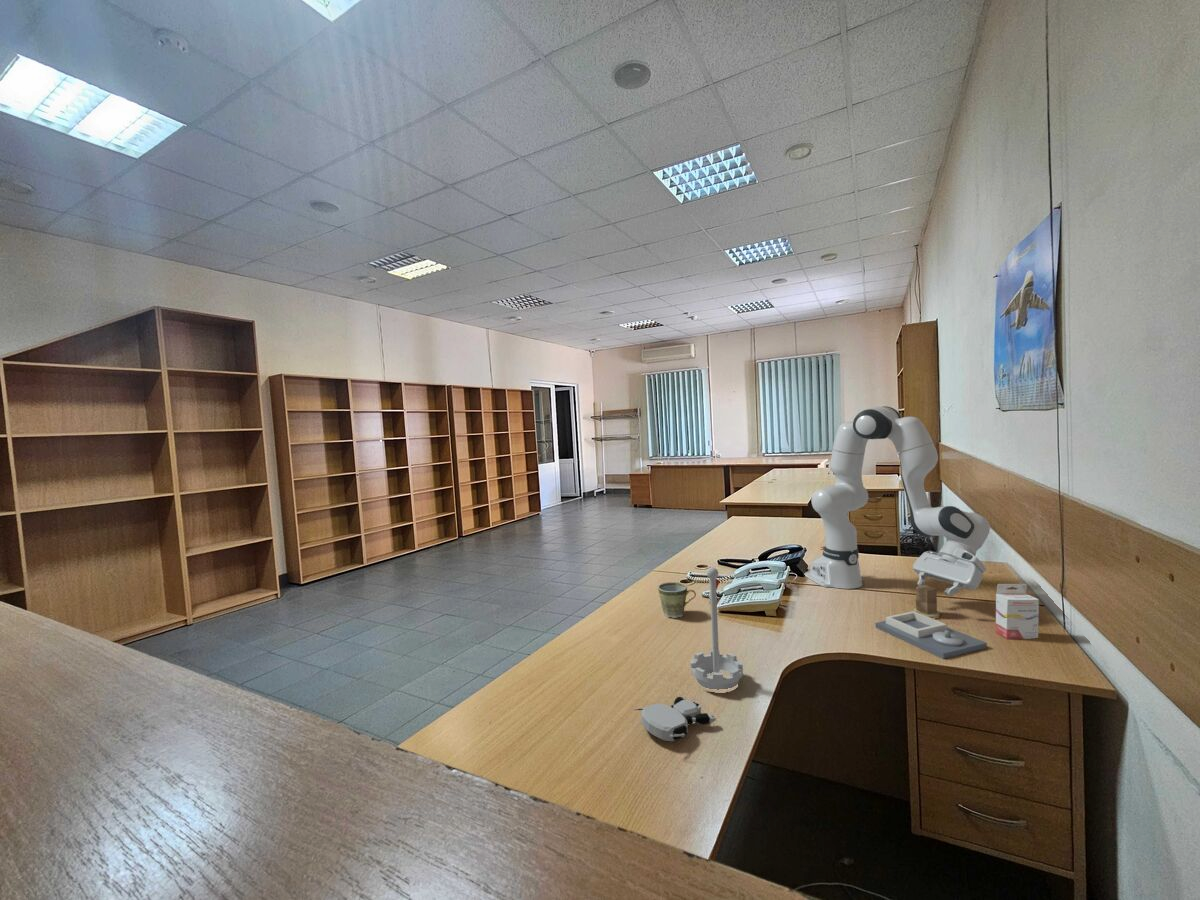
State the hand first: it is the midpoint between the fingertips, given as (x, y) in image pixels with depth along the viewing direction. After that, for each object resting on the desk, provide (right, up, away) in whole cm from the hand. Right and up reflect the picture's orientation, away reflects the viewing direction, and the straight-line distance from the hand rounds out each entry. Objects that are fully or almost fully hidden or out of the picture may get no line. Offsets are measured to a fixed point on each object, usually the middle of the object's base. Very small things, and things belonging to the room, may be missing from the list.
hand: (933, 590), depth 161 cm
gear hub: (-3, -8, 0) cm, 8 cm away
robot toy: (-92, -16, -52) cm, 107 cm away
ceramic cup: (-82, -12, +10) cm, 83 cm away
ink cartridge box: (+12, -8, -18) cm, 23 cm away
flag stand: (-79, -14, -34) cm, 87 cm away
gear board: (-12, -9, -16) cm, 22 cm away
